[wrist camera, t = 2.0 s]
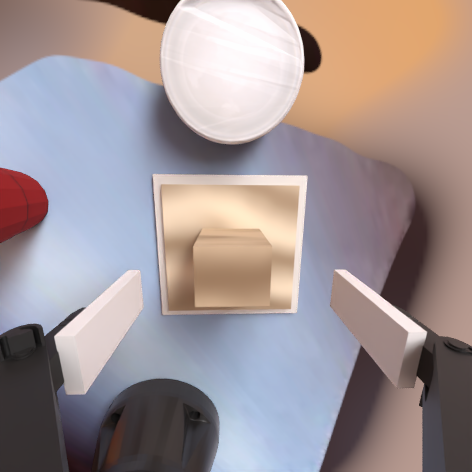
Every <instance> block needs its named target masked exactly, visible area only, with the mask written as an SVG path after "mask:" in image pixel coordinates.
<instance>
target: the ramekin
mask: <svg viewBox="0 0 472 472" xmlns="http://www.w3.org/2000/svg"><path fill="white" fill-rule="evenodd" d="M160 69H161V76H162V82H163V85H164V89H165V92H166V94H167V97H168V99H169V101H170V103H171V105H172V107H173V109H174V110H175V112H176V113H177V115H178V116H179V117H180V119H181V120H182V121H183V122H184V123H185V124H186V125H187V126H188V127H189V128H190V129H191V130H192V131H194V132H195V133H197V134H198V135H200V136H202V137H203V138H205V139H208V140H210V141H213V142H216V143H221V144H242V143H247V142H250V141H253V140H256V139H258V138H260V137H262V136H264V135H265V134H267V133H268V132H270V131H271V130H273V129H274V128H275V127H276V126H277V125H278V124H279V123H280V122H281V121H282V120H283V118H284V117H285V116H286V115H287V113H288V112H289V110H290V109H291V107H292V105H293V103H294V101H295V99H296V97H297V94H298V92H299V88H300V85H301V81H302V77H303V73H304V51H303V44H302V39H301V35H300V32H299V29H298V26H297V24H296V22H295V20H294V18H293V16H292V14H291V13H290V11H289V10H288V8H287V7H286V6H285V4H283V2H282V1H281V0H181V1H180V2H179V3H178V4H177V6H176V7H175V9H174V10H173V12H172V14H171V15H170V17H169V20H168V22H167V24H166V27H165V30H164V32H163V37H162V41H161V47H160Z"/></svg>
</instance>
